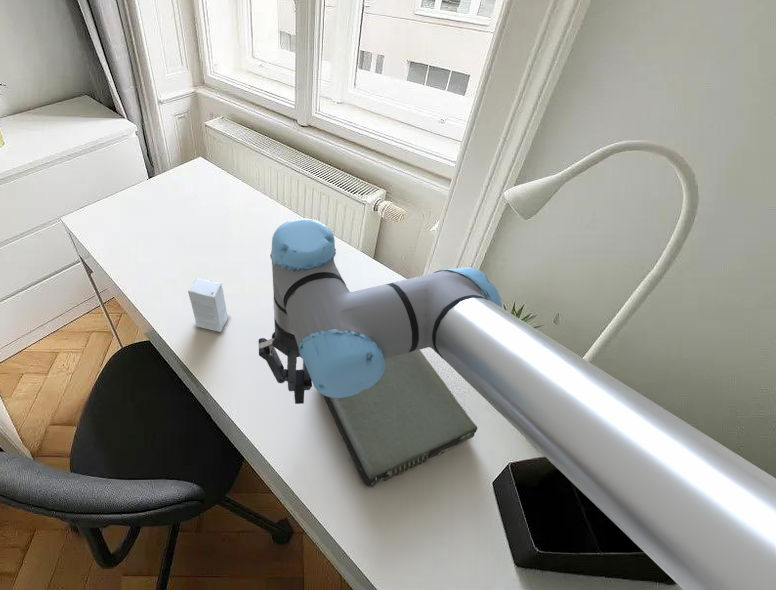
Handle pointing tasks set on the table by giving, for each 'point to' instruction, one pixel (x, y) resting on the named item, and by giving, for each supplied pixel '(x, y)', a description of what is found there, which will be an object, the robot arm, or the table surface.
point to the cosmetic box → (208, 304)
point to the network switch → (400, 419)
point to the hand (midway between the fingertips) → (298, 396)
